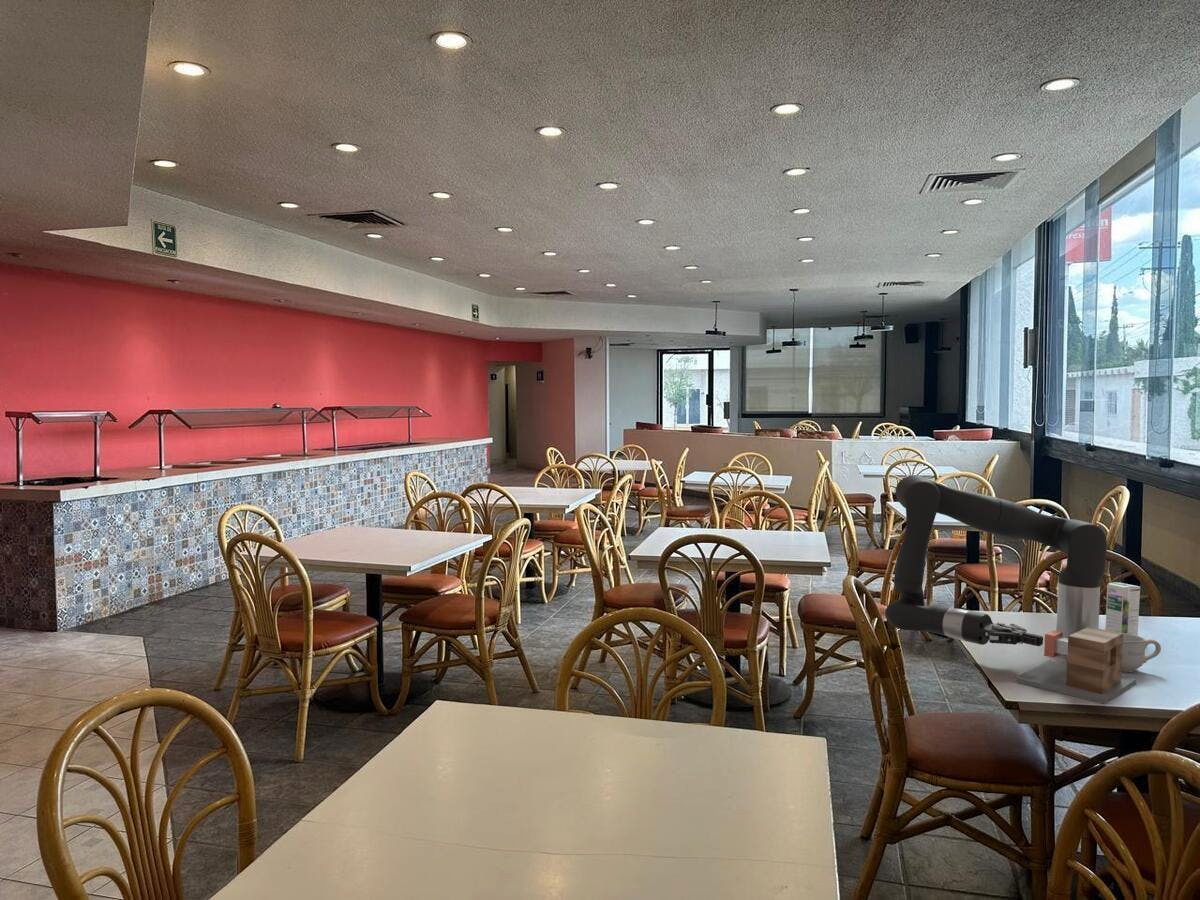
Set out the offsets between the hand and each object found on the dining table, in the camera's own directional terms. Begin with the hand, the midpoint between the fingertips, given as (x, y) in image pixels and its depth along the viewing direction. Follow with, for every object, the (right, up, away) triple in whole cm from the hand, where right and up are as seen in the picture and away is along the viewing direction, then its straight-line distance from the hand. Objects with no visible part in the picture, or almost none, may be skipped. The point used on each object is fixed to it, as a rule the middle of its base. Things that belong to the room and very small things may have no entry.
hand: (1041, 641), depth 187 cm
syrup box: (+40, -7, +34) cm, 53 cm away
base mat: (+5, -8, -4) cm, 11 cm away
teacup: (+23, -8, +6) cm, 25 cm away
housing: (+7, -8, -8) cm, 14 cm away
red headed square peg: (+4, -3, -4) cm, 7 cm away
